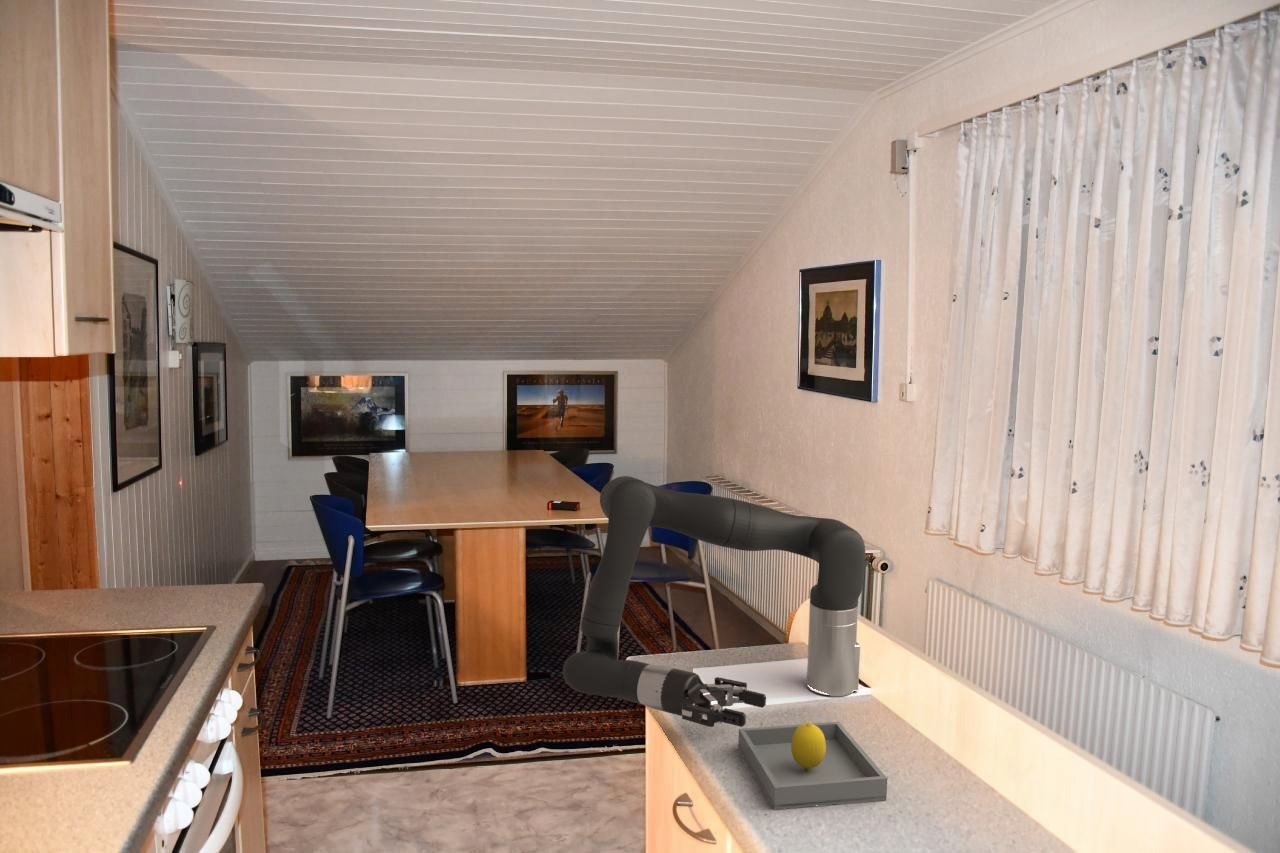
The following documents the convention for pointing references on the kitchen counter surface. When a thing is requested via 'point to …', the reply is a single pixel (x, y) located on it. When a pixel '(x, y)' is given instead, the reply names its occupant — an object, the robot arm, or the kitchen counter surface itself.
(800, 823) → the kitchen counter surface
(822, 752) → the lemon
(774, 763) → the tray
